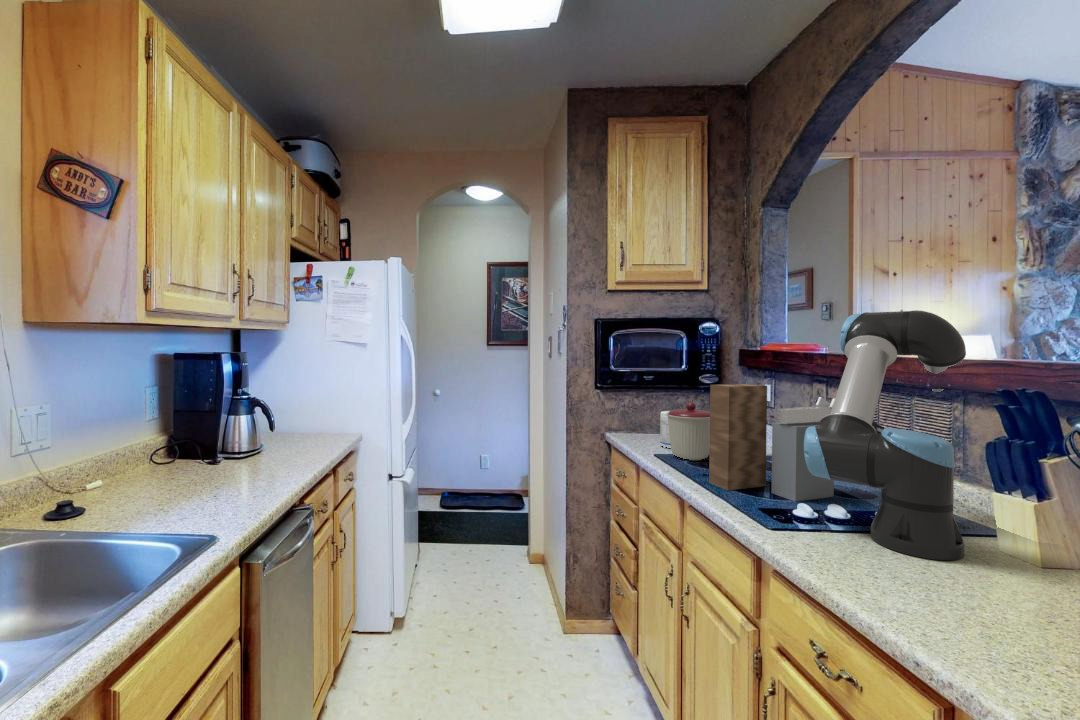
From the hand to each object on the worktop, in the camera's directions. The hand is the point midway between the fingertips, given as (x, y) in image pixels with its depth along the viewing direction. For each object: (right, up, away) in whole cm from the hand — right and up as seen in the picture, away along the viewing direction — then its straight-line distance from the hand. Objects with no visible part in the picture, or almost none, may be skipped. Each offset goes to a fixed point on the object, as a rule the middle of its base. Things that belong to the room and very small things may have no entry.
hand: (825, 401), depth 133 cm
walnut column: (-22, -26, +7) cm, 35 cm away
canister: (-25, -25, +44) cm, 56 cm away
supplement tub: (-26, -25, +64) cm, 73 cm away
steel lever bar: (-3, -5, -1) cm, 6 cm away
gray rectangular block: (-8, -26, -2) cm, 27 cm away
